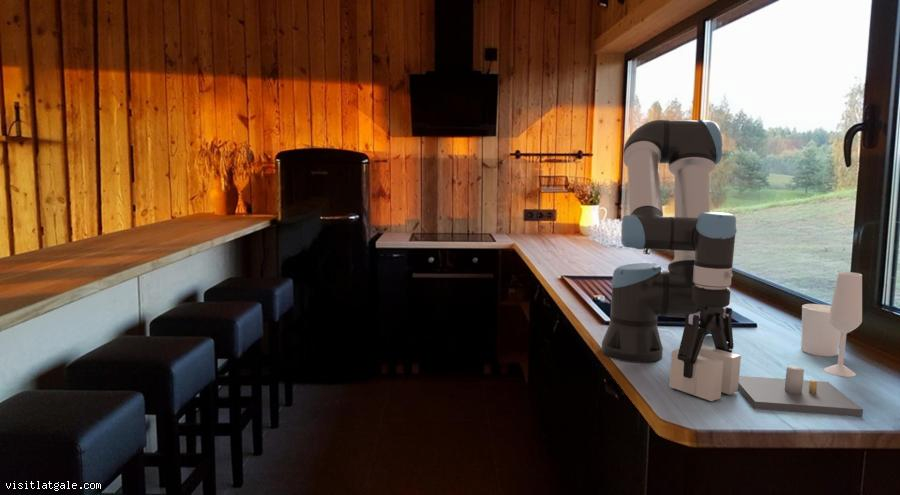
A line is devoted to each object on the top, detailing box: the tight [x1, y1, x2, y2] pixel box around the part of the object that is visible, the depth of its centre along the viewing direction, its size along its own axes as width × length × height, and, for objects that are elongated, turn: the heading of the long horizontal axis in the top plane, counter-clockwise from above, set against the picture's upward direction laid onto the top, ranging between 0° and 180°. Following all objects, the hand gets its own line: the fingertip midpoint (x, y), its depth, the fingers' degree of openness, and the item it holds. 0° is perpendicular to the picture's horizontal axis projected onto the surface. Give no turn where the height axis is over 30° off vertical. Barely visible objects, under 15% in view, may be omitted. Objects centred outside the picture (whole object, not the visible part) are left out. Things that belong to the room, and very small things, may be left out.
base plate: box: [738, 365, 864, 418], centre depth 132 cm, size 20×16×6 cm
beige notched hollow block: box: [669, 344, 742, 402], centre depth 135 cm, size 10×10×8 cm
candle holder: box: [800, 303, 841, 358], centre depth 166 cm, size 10×10×12 cm
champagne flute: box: [823, 271, 863, 378], centre depth 149 cm, size 7×7×24 cm
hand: (703, 386), depth 136 cm, fingers closed on beige notched hollow block, 10 cm apart
